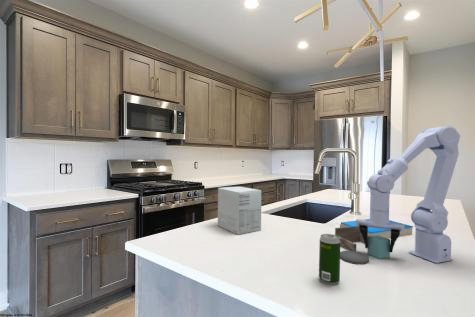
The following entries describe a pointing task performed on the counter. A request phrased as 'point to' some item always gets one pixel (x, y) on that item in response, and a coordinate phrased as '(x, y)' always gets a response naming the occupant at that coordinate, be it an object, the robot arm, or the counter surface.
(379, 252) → the block
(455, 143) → the robot arm
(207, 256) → the counter surface
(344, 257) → the coaster
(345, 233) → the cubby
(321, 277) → the beer can
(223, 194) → the supplement box
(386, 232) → the book
